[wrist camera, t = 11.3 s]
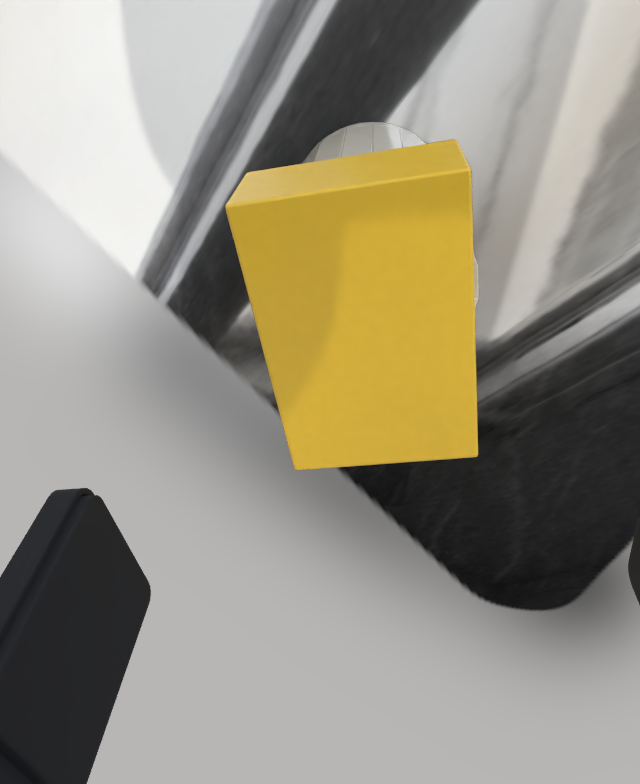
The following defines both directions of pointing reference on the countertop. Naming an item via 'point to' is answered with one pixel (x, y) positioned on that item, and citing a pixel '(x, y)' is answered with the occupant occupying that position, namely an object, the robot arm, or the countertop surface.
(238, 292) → the countertop surface
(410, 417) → the block
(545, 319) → the countertop surface
